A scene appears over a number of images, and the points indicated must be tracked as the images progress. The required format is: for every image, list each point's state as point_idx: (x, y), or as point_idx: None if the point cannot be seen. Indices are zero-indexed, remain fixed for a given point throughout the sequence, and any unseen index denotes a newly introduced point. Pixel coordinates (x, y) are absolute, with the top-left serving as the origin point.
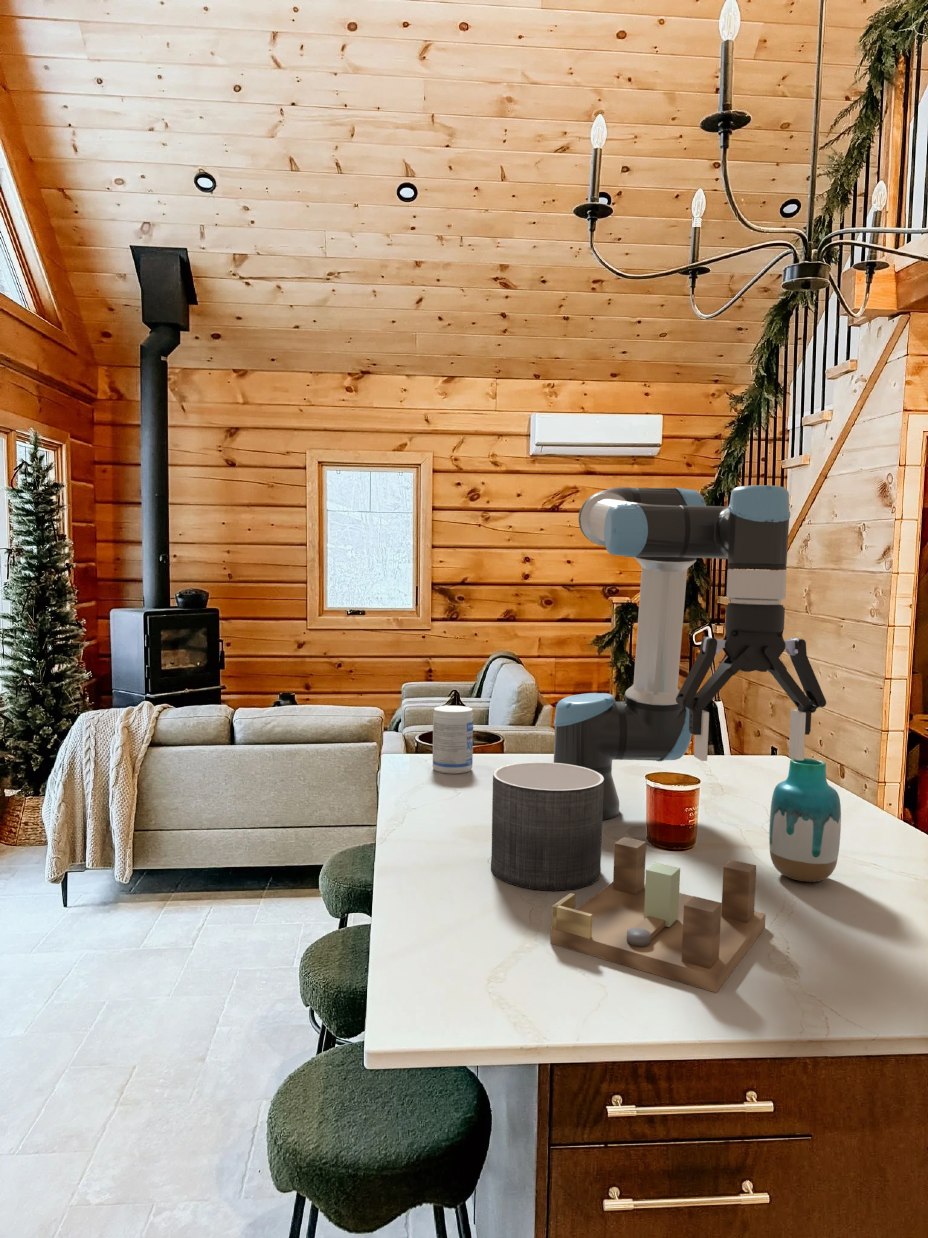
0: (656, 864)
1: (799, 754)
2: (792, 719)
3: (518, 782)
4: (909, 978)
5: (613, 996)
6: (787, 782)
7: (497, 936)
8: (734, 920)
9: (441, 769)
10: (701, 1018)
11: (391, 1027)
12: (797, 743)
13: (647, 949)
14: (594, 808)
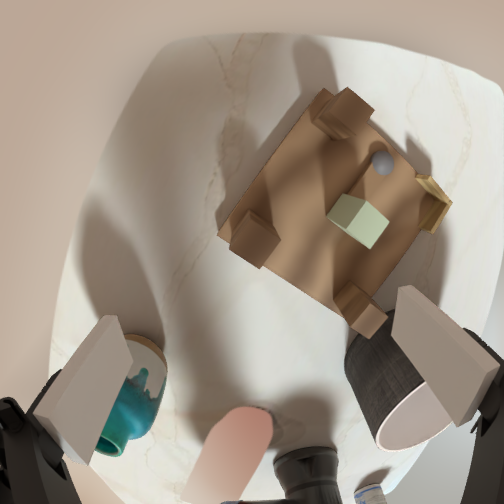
0: (371, 240)
1: (108, 323)
2: (90, 431)
3: (427, 422)
4: (120, 128)
5: (402, 100)
6: (132, 428)
7: (460, 212)
8: (261, 215)
9: (377, 484)
10: (342, 58)
11: (501, 101)
12: (101, 351)
13: (375, 146)
14: (398, 375)
